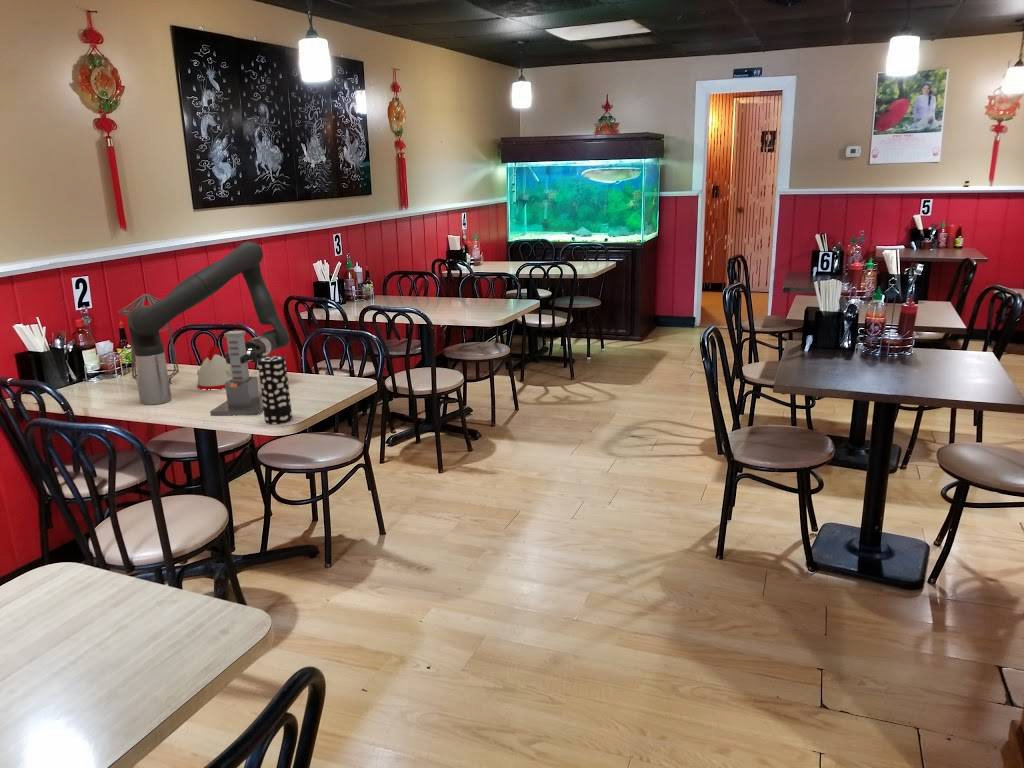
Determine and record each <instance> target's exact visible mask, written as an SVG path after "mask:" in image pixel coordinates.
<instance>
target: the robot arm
mask: <svg viewBox="0 0 1024 768" xmlns="http://www.w3.org/2000/svg"><path fill="white" fill-rule="evenodd" d="M263 257H264V251H263V248H262V247H261V245H259V244H258V243H256V242H253V241H244V242H241V243H240V244H239V245H237V247H236V248H234V250H232V251H231V252H230V253H229V254H227V255H225V256H224V257H223V258H221V259H219V260H217V261H215V262H213V263H211V264H209V265H207V266H205V267H203V268H201V269H199V270H198V271H196V272H194V273H193V274H190V276H188V277H187V278H185V279H183V280H182V281H181V282H179V283H178V284H177V285H176V286H175V287H174V288H173V289H172V290H171V291H170V292H169V293H168V294H167V295H166V296H165V297H163V298H162V299H160V301H159V300H157V303H155V304H153V305H148V306H149V307H137V308H135V307H133V308H134V309H133V310H130V311H129V312H130V313H129V316H128V317H127V323H128V325H127V326H128V330H129V335H130V343H131V342H132V346H133V349H134V355H135V365H136V371H137V374H138V376H137V377H136V378H135V379H136V380H135V381H136V386H137V391H138V398H139V403H140V404H141V405H142V404H143V405H147V406H148V405H153V404H154V405H159V404H160V403H161V404H164V403H168V402H170V401H172V399H173V398H172V392H171V387H170V385H171V384H169V378H168V375H169V374H168V372H169V371H167V370H168V367H167V362H166V354H165V348H164V344H163V342H162V339H161V335H160V332H159V331H161V329H163V328H162V327H166V325H167V324H168V322H169V323H170V322H171V321H172V320H173V319H175V318H176V317H178V316H180V315H181V314H182V313H184V312H186V311H188V310H190V309H191V308H193V307H195V306H196V305H198V304H200V303H201V302H203V301H205V300H206V299H208V298H209V297H211V296H213V295H214V294H215V293H216V292H218V291H219V290H220V289H221V288H223V287H224V286H225V285H227V284H228V283H229V282H230V281H231V280H232V279H233V278H235V277H237V276H238V275H240V274H241V275H242V277H243V279H244V281H245V283H246V286H247V289H248V290H249V291H248V292H249V294H250V297H251V301H252V305H253V307H254V310H255V314H256V317H257V321H258V323H259V324H260V325H261V326H266V325H269V326H272V328H273V329H272V330H267V331H264V332H262V333H260V335H258V336H256V337H253V338H251V339H249V340H247V341H245V347H246V355H244V356H242V357H240V362H241V364H244V363H245V362H247V363H258V362H257V360H258V359H259V358H263V357H268V356H269V354H271V353H273V352H274V351H275V350H278V349H282V348H283V347H284V348H285V347H287V346H288V345H289V344H290V342H291V338H290V337H291V336H290V334H289V331H288V329H286V327H285V325H284V324H283V322H282V321H281V319H280V318H279V315H278V312H277V309H276V305H275V302H274V300H273V298H272V295H271V293H270V291H269V289H268V287H267V285H266V283H265V280H264V278H263V274H262V269H261V262H262V260H263ZM225 359H226V363H227V364H230V357H229V351H228V350H227V351H226V353H225Z"/></svg>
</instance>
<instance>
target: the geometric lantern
mask: <svg viewBox="0 0 1024 768" xmlns="http://www.w3.org/2000/svg"><path fill="white" fill-rule="evenodd" d="M146 299H147V300H148V303H149V305H144V303H145V301H146ZM160 300H161V299H160V298H158V297H155V296H153V295H151V294H148V293H145V294H144V293H143V294H142V295H141V296H139V297H138V298H136V299H135V300H134V301H132V302H131V303H129V304H128V305H126V306H125V307H123V308H121V309H120V310H118V314H122V315H123V316H126V317H127V318H128V316H129V314H130V312H131V311H132V310H133V309H134V308H137V307H149V306H151V305H153V304H155V303H157V302H158V301H160ZM129 307H130V308H129ZM127 308H129V309H128V310H127ZM166 325H167V326H163V327H162V328H161V329H162V330H159V333H161V332H165V331H168V334H169V342H170V348H171V349H170V350H171V355H172V356H171V357H172V361H173V369H167V372H172V373H170V374H168V379H169V382H170V383H171V384H172V383H173V382H172V379H173V378H174V377H175V376H176V375H177V374H178V373H180V370H179V365H178V361H177V355H176V350H175V346H174V340H173V336H172V330H171V325H170V322H168V323H167V324H166ZM163 328H165V329H163ZM130 348H131V351H130V352H131V354H130V356H131V373H132V375H131V377H132V379H134V380H135V381H137V380H136V377H137V376H138V373H137V364H136V358H135V352H134V349H133V346H132V342H131V341H130ZM170 383H169V385H171V384H170Z"/></svg>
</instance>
